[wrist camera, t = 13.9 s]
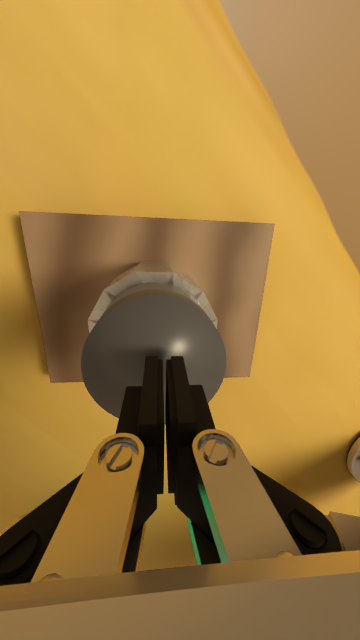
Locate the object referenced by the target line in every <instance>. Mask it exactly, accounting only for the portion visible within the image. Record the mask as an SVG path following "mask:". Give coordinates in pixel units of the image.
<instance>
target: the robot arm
mask: <svg viewBox="0 0 360 640" xmlns="http://www.w3.org/2000/svg"><path fill="white" fill-rule="evenodd" d="M165 418H166V444H167V470H168V493H174V496H175V505H177V507H178V508H179V509H180V510H181V511H182V512H183V513H184V514H185V515H186V516H187V521H188V528H189V532H190V536H191V541H192V545H193V549H194V554H195V558H196V562H197V565H196V566H186V567H176V568H166V569H156V570H147V571H138V569H139V563H140V557H141V551H142V546H143V540H144V534H145V527H146V521H147V519H148V518H149V517H150V516H151V515H152V514H153V512H154V511H155V510H156V509H157V494H163V487H164V390H163V359H158V356H146V358H145V366H144V375H143V384H142V386H127V387H126V390H125V394H124V399H123V403H122V408H121V412H120V417H119V421H118V426H117V430H116V434H114V435H111V436H109V437H107V438H105V439H104V440H103V441H102V442H101V443H99V444H98V446H97V447H96V449H95V450H94V452H93V454H92V456H91V458H90V460H89V462H88V464H87V466H86V468H85V471H84V472H83V473H82V474H81V475H79V476H78V477H77V478H75V479H74V480H73V481H71V482H70V483H69V484H67V485H66V486H65V487H64V488H62V489H61V490H60V491H58V492H57V493H56V494H54V495H53V496H52V497H50V498H49V499H48V500H46V501H45V502H44V503H42V504H41V505H40V506H38V507H37V508H36V509H35V510H33V511H32V512H31V513H29V514H28V515H27V516H25V517H24V518H23V519H21V520H20V521H19V522H17V523H16V524H15V525H13V526H12V527H11V528H9V529H8V530H7V531H6V532H5V533H4V534H3V535H2V536H0V640H360V517H358V516H352V515H347V514H341V513H336V512H331V511H330V513H329V515H323V513H321V512H320V511H319V510H318V509H316V508H315V507H314V506H313V505H311V504H310V503H308V502H307V501H305V500H303V499H302V498H300V497H299V496H297V495H296V494H294V493H293V492H291V491H290V490H288V489H287V488H285V487H284V486H282V485H280V484H279V483H277V482H276V481H274V480H273V479H271V478H270V477H268V476H267V475H265V474H264V473H262V472H260V471H259V470H257V469H256V468H254V467H253V466H251V465H250V463H249V461H248V459H247V458H246V456H245V454H244V452H243V451H242V449H241V447H240V445H239V444H238V442H237V441H236V440H235V439H234V438H233V437H232V436H231V435H229V434H228V433H226V432H224V431H221V430H217V429H215V426H214V422H213V419H212V416H211V412H210V409H209V406H208V403H207V399H206V396H205V393H204V389H203V386H202V385H189V381H188V377H187V372H186V367H185V363H184V358H183V356H171V359H166V402H165ZM347 466H348V469H349V471H350V473H351V474H352V475H353V476H354V478H355V479H356V480H357V481H359V482H360V437H359V438H358V439H357V440H356V441H355V443H354V444H353V446H352V447H351V449H350V451H349V453H348V458H347Z"/></svg>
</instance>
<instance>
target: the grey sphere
mask: <svg viewBox="0 0 360 640" xmlns="http://www.w3.org/2000/svg"><path fill="white" fill-rule="evenodd" d="M146 356H158V359H163V390H164V424H166V418H165V402H166V359H171V356H183V358H184V363H185V367H186V372H187V377H188V381H189V385H202V386H203V389H204V393H205V396H206V399H207V403H208V402H209V401H210V400H211V399H212V398H213V397H214V395H215V394H216V392H217V391H218V389H219V387H220V385H221V383H222V381H223V378H224V375H225V370H226V350H225V346H224V343H223V340H222V338H221V335H220V334H219V332H218V330H217V329H216V327H215V326H214V324H213V323H212V321H211V320H210V318H209V317H208V315H207V314H206V313H205V311H204V310H203V308H202V307H201V305H200V304H199V303H198V301H197V300H196V299H195V298H194V297H193V296H192V295H191V294H189V293H188V292H186V291H185V290H183V289H181V288H179V287H177V286H174V285H172V284H168V283H162V282H147V283H142V284H138V285H135V286H132V287H130V288H128V289H126V290H125V291H123V292H122V293H120V294H119V295H118V296H117V297H115V298H114V300H113V301H112V302H111V303H110V304H109V306H108V307H107V309H106V310H105V311H104V313H103V314H102V316H101V317H100V319H99V320H98V322H97V323H96V324H95V326H94V327H93V329H92V330H91V332H90V333H89V335H88V337H87V339H86V341H85V343H84V346H83V350H82V355H81V372H82V377H83V380H84V383H85V386H86V388H87V390H88V392H89V393H90V395H91V396H92V398H93V399H94V400H95V401H96V402H97V403H98V404H99V405H100V406H101V407H102V408H103V409H104V410H106V411H107V412H108V413H110V414H112V415H113V416H115V417H117V418H119V417H120V412H121V408H122V403H123V399H124V394H125V390H126V387H127V386H142V384H143V375H144V366H145V358H146Z"/></svg>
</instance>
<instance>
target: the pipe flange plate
mask: <svg viewBox="0 0 360 640" xmlns="http://www.w3.org/2000/svg"><path fill="white" fill-rule="evenodd" d="M19 214H20V220H21V225H22V230H23V236H24V241H25V247H26V252H27V257H28V263H29V268H30V274H31V279H32V285H33V290H34V295H35V301H36V306H37V312H38V317H39V322H40V328H41V333H42V339H43V344H44V350H45V355H46V360H47V366H48V371H49V377H50V382H51V383H59V382H84V380H83V377H82V372H81V355H82V350H83V346H84V343H85V341H86V339H87V337H88V335H89V333H90V332H91V330H92V329H93V327H94V326H95V324H96V323H97V322H98V320H99V319H100V317H101V316H102V314H103V313H104V311H105V310H106V309H107V307H108V306H109V304H110V303H111V302H112V301H113V300H114V298H115V297H117V296H118V295H119V294H120V293H122V292H123V291H125V290H126V289H128V288H130V287H132V286H135V285H138V284H142V283H147V282H162V283H168V284H172V285H174V286H177V287H179V288H181V289H183V290H185V291H186V292H188V293H189V294H191V295H192V296H193V297H194V298H195V299H196V300H197V301H198V303H199V304H200V305H201V307H202V308H203V310H204V311H205V313H206V314H207V315H208V317H209V318H210V320H211V321H212V323H213V324H214V326H215V327H216V329H217V330H218V332H219V334H220V335H221V338H222V340H223V343H224V346H225V350H226V370H225V375H224V378H227V377H250V371H251V365H252V359H253V353H254V347H255V341H256V335H257V328H258V322H259V316H260V310H261V304H262V298H263V292H264V286H265V280H266V274H267V268H268V262H269V255H270V249H271V243H272V237H273V231H274V225H275V224H269V223H249V222H228V221H208V220H188V219H168V218H147V217H127V216H107V215H86V214H66V213H46V212H26V211H19Z"/></svg>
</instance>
